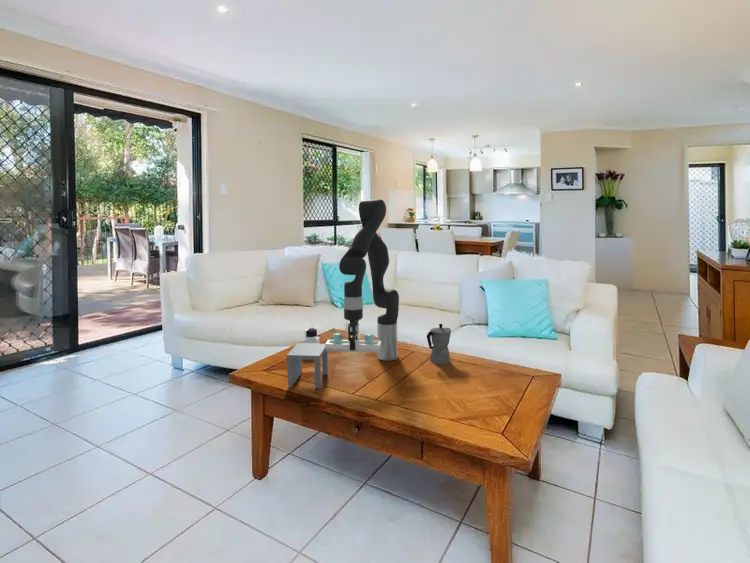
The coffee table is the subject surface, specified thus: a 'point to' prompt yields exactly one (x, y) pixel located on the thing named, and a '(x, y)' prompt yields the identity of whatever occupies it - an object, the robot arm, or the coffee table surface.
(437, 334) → the coffeepot
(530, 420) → the coffee table surface
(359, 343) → the tray
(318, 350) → the grey stand
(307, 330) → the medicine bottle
